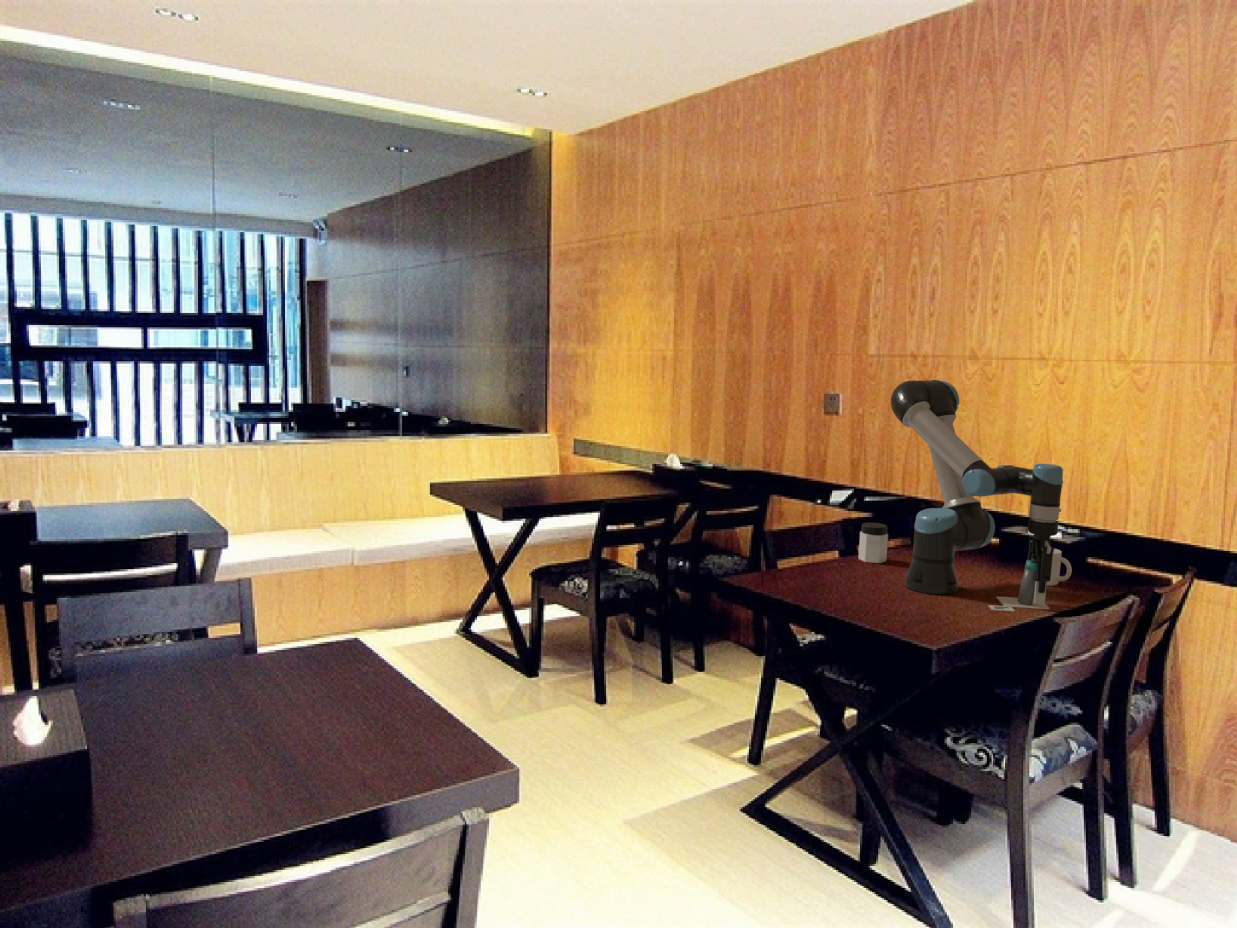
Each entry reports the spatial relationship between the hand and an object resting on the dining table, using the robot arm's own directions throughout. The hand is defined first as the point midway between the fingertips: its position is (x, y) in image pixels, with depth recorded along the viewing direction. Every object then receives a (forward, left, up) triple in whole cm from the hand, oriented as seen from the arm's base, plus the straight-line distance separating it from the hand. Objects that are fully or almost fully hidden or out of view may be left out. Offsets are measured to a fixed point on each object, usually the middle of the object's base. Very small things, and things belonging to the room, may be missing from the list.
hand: (1035, 600), depth 254 cm
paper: (-3, +1, -2) cm, 4 cm away
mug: (+12, +25, -2) cm, 28 cm away
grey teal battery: (-3, +1, -1) cm, 3 cm away
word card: (-11, -6, -2) cm, 12 cm away
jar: (-39, +42, -2) cm, 58 cm away
